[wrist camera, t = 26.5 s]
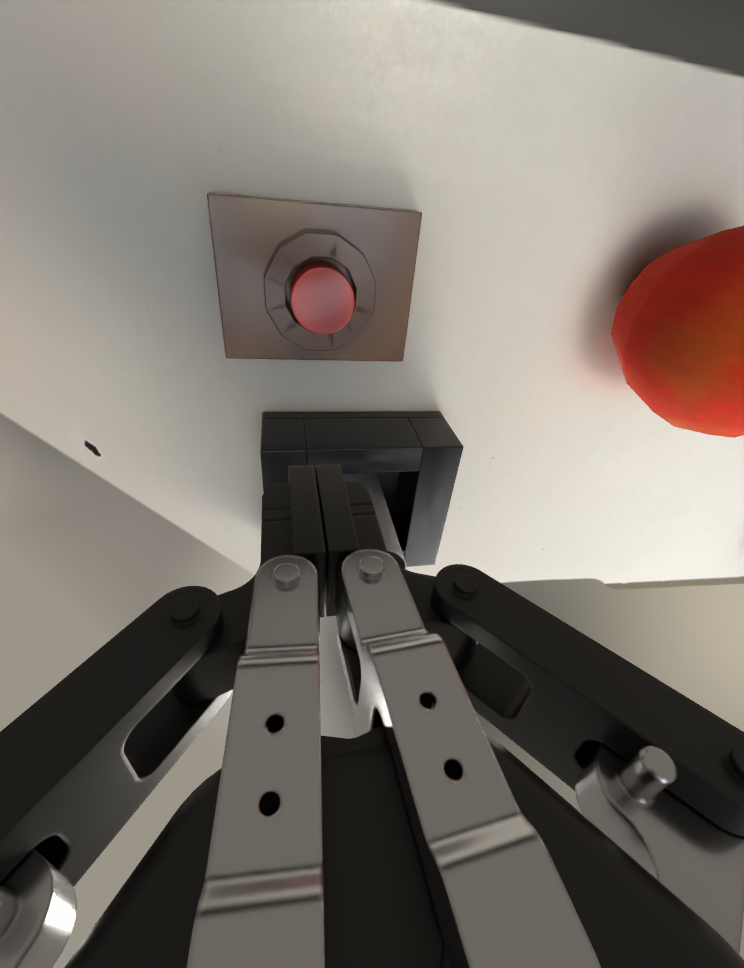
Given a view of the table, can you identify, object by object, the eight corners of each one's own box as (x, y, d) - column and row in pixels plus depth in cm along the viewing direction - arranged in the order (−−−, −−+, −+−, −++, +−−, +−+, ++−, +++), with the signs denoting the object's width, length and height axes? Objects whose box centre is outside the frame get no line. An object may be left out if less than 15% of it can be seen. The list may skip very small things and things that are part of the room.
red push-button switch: (227, 352, 29) (223, 368, 27) (209, 192, 24) (202, 195, 22) (399, 355, 32) (409, 371, 29) (416, 210, 26) (431, 215, 24)
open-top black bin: (270, 531, 39) (270, 577, 35) (262, 412, 32) (260, 451, 28) (418, 523, 42) (435, 564, 38) (440, 411, 35) (463, 446, 31)
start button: (290, 324, 26) (291, 333, 25) (289, 259, 24) (289, 265, 23) (349, 326, 27) (353, 335, 26) (352, 263, 25) (356, 269, 24)
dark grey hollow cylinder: (388, 478, 37) (421, 568, 29) (353, 512, 38) (374, 606, 30) (349, 451, 34) (371, 540, 26) (313, 488, 36) (324, 583, 28)
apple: (562, 391, 36) (691, 494, 25) (585, 227, 29) (782, 268, 17) (700, 360, 37) (886, 447, 25) (757, 192, 29) (1053, 210, 18)
